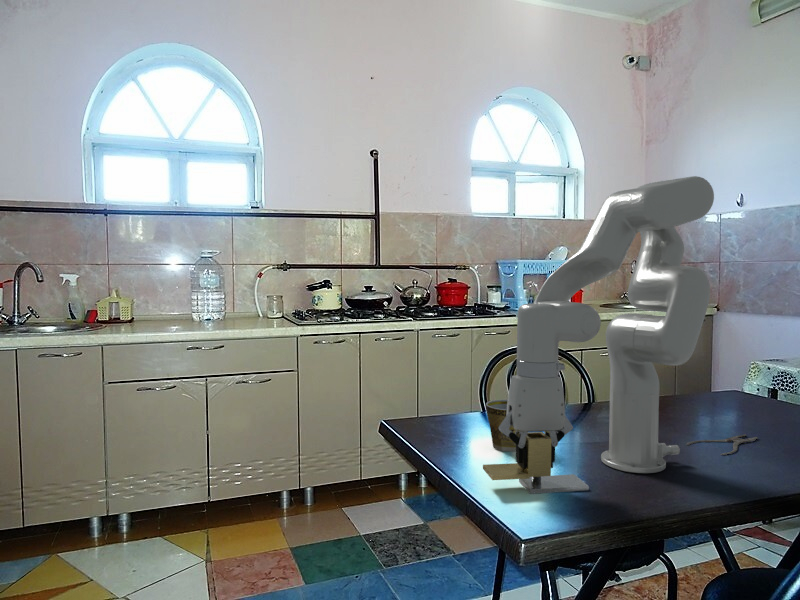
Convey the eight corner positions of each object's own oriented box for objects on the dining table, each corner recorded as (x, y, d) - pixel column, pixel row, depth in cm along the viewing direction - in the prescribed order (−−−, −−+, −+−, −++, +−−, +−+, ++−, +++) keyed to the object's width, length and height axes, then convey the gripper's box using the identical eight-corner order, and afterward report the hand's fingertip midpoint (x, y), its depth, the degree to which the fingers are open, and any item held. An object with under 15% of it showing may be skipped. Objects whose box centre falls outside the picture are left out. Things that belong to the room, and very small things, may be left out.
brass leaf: (539, 466, 109) (540, 430, 108) (552, 477, 103) (553, 439, 102) (482, 468, 107) (483, 432, 107) (492, 480, 101) (493, 442, 101)
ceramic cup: (530, 455, 124) (531, 410, 123) (484, 453, 125) (485, 408, 125) (527, 438, 136) (528, 397, 136) (486, 436, 138) (486, 395, 138)
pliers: (681, 444, 129) (716, 428, 142) (681, 448, 130) (716, 431, 142) (727, 455, 122) (759, 436, 135) (727, 458, 122) (759, 440, 135)
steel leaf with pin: (574, 478, 110) (574, 438, 110) (588, 490, 104) (589, 447, 104) (518, 481, 108) (519, 440, 108) (530, 493, 102) (530, 450, 102)
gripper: (570, 365, 109) (568, 458, 110) (487, 367, 107) (485, 461, 108) (589, 372, 102) (586, 471, 103) (500, 374, 100) (498, 475, 100)
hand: (535, 465), depth 105 cm, fingers closed on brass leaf, 4 cm apart
